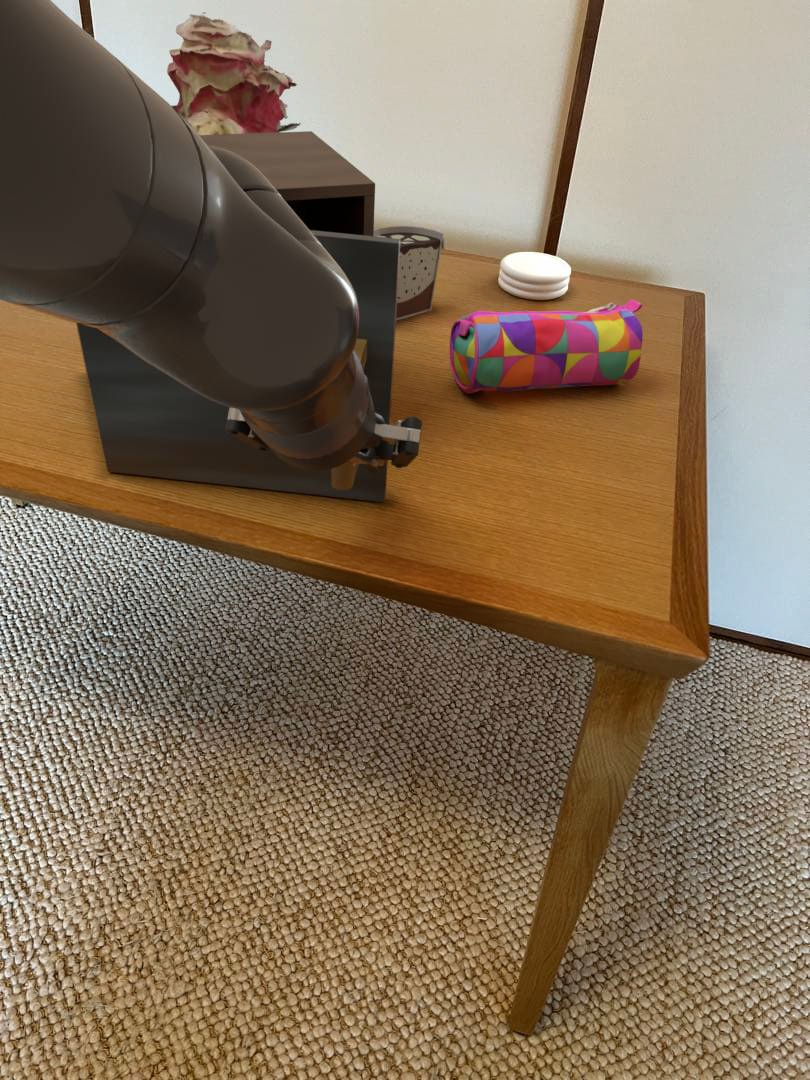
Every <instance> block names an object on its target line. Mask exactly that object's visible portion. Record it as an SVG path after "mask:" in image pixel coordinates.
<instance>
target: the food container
mask: <svg viewBox="0 0 810 1080" xmlns="http://www.w3.org/2000/svg"><path fill="white" fill-rule="evenodd" d="M373 236H375V237H385V238H395V239H400V258H399V275H398V293H397V310H396V322H397V321H400V320H403V319H407V318H411V317H414V316H417V315H420V314H424V313H427V312H432V307H433V301H434V295H435V288H436V283H437V282H436V281H437V276H438V270H439V263H440V257H441V251H442V250H445V249H446V247H445V245H446V244H445V238H444V233H442V232H441V231H437V230H435V229H430V228H426V227H420V226H413V225H412V226H411V225H392V226H383V227H379V228H374V235H373Z"/></svg>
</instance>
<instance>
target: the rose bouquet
mask: <svg viewBox="0 0 810 1080" xmlns="http://www.w3.org/2000/svg"><path fill="white" fill-rule="evenodd" d="M205 14H206V12H201V15H198V14H192V13H190V14H189V17H188V18H187V19H186V20H185V21H184V22H182V23H180V24H178V25H177V26H176V28H175V33H176V34H177V35H179V36H180V37H181V38H182V40H183V41H182V43H181V45H180V47H179V48H174V49H169V50H168V53H169V55H170V57H171V58H172V62H170V63H168V65H167V67H166V73H167V76H168V77H169V79H170V80H171V82H172V83H173V85H174V86H175V88H176V90H177V92H178V94H179V97H178V101H177V104H176V105H171V106H172V107H173V108H174V109H175V110H176V111H177V112H178V113H179V114H180V115H181V116H182V117H183V118H185V119H186V120H187V121H188V123H189V124H190V125H191V126H192V127H193V128H194V129H195V130H196V132H197V133H198V134H199V135H219V134H248V133H277V132H289V131H293V130H295V129H297V128H298V127H299V126H300V125H301V124H302V123H301V122H299V123H297V122H293V123H288V124H287V125H286V124H284V125H282V122H281V121H283V120H286V119H288V117H289V116H288V115H287V110H288V109H287V108H288V106H289V105H288V104H286V103H285V102H284V101H283V100H282V99H280V98H281V96H282V95H283V93H284V92H285V90H290V89H291V88H292V87H293V88H294V87H296V86H297V85H298V84H297V83H296V82H293V79H292V78H291V77H290V76H288V75H287V74H285V72H282V73H281V72H280V71H278V70H276V69H274V67H272V66H271V65H266V64H265V62H266V59H265V58H266V52H269V50H271V48H272V45H273V44H272V43H273V42H272V41H271V40H269V39H265V41H264V42H263V44H261V45H259V44H258V43H257V41H255V39H253V36H252V35H250V34H249V33H247V32H242V31H241V30H239V28H237V26H236V25H235V24H231V23H229V22H227V21H225V20H223V19H220V18H218V19H216V18H215V19H211V17H209V16H206V15H205Z"/></svg>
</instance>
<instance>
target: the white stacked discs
mask: <svg viewBox="0 0 810 1080" xmlns="http://www.w3.org/2000/svg"><path fill="white" fill-rule="evenodd" d="M499 265H500V269H499V270H498V271H499V272H498V274H499V276H498V279H497V282H498V285H499V286H500V288H501V289H502V290H503V291H505V293H508V294H510V295H512V296H513V297H514V296H515V297H518V298H521V299H526V300H531V301H532V300H534V301H549V300H554V299H558V298H560V297H562V296H564V295H565V294H566V293H567V292H568V290H569V283H570V276H571V274H572V268H571V266H570V264H569V263H567V262H566V261H565V260H564V259H562V258H560V257H558V256H556V255H553V254H549V253H545V252H535V251H519V252H513V253H510V254H507V255H506V256H504V257H503V258H502V259H501V261H500V264H499Z"/></svg>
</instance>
